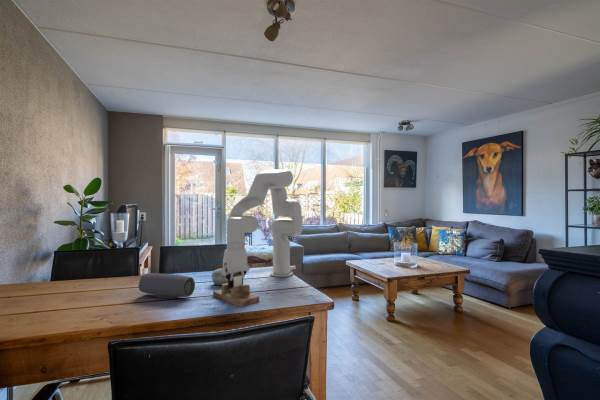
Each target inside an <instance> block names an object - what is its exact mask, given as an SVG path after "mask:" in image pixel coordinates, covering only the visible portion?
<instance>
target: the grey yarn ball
mask: <svg viewBox="0 0 600 400" xmlns="http://www.w3.org/2000/svg"><path fill="white" fill-rule="evenodd" d="M222 270H223V267H219V268H216V269H215V270H213V271H212V273H211V279H212V280H211V281H212V283H213V284H214V285H216V286H222V284H225V283H228V280H227V278H226V277H224V276H223V275H221V272H222ZM227 273H228V272H226V274H227Z"/></svg>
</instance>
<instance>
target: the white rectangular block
mask: <svg viewBox="0 0 600 400" xmlns="http://www.w3.org/2000/svg"><path fill="white" fill-rule="evenodd" d="M233 280H234V287H237V286H241V285H242V274H241V273H238V272H237V273H234V274H233ZM230 290H231V289H230Z"/></svg>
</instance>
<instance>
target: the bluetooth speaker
mask: <svg viewBox="0 0 600 400" xmlns="http://www.w3.org/2000/svg"><path fill="white" fill-rule="evenodd" d="M195 288H196V283H195V279H194V277H191V276H187V275H181V274H180V275H179V274H173V273H172V274H170V273H158V272H157V273H155V272H154V273H153V272H150V273H149V272H148V273H144V274H142V276H141V277H140V279H139V281H138V289H139V291H140V292H141V293H145V294H148V295H155V297H156V298H160V299H170V300H171V299H172V300H175V299H177V298H189V297H190V296H192V295H193V294H194V291H195Z"/></svg>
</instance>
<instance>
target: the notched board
mask: <svg viewBox="0 0 600 400" xmlns="http://www.w3.org/2000/svg"><path fill="white" fill-rule="evenodd" d="M250 288H251V286H250V284H247V283H246V284H243V285H241V286H237V287H233V288H231V290H230V289H229V288H228V283H225V284H222V285H221V289H218V290H213V292H212V295H213V297H215V298H218V299H220V300H222V301H224V302H226V303H229V304H231V305H233V306H236V307H238V308H242V307H245V306H247V305H251V304H255V303H259V302H260V296H259V295H256V294H253V293H251V291H250Z"/></svg>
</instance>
